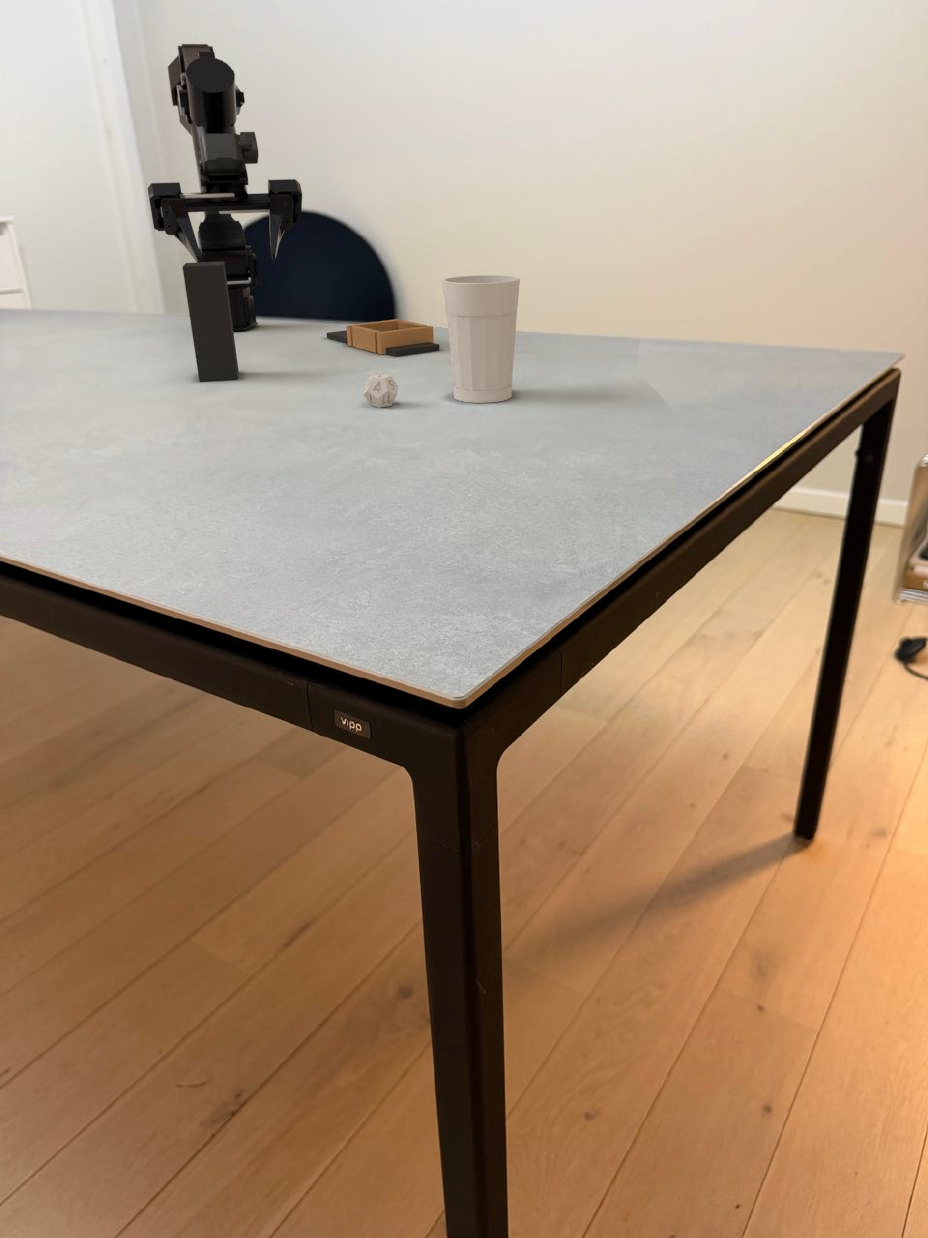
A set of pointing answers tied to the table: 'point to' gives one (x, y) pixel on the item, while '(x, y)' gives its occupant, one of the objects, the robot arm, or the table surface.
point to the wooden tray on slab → (388, 337)
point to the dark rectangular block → (211, 320)
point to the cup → (482, 335)
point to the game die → (381, 390)
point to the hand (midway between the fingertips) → (236, 259)
